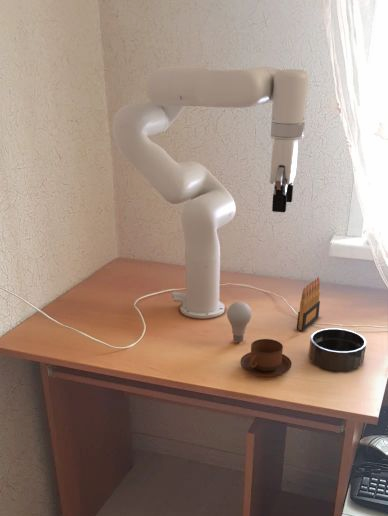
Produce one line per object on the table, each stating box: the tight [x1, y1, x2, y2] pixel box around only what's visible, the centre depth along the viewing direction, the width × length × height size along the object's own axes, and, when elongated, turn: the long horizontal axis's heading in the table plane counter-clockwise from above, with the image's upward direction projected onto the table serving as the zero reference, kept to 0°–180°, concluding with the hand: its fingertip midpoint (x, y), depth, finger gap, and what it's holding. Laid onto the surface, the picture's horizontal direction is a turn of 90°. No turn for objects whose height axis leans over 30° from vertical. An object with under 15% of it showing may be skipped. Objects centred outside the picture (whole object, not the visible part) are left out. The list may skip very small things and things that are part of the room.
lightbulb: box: [226, 301, 253, 344], centre depth 158 cm, size 6×6×11 cm
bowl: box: [308, 327, 367, 373], centre depth 151 cm, size 13×13×6 cm
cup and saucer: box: [239, 338, 292, 378], centre depth 147 cm, size 12×12×6 cm
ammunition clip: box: [296, 276, 321, 332], centre depth 167 cm, size 11×2×12 cm, turn 148°
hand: (282, 206), depth 152 cm, fingers open, 9 cm apart
